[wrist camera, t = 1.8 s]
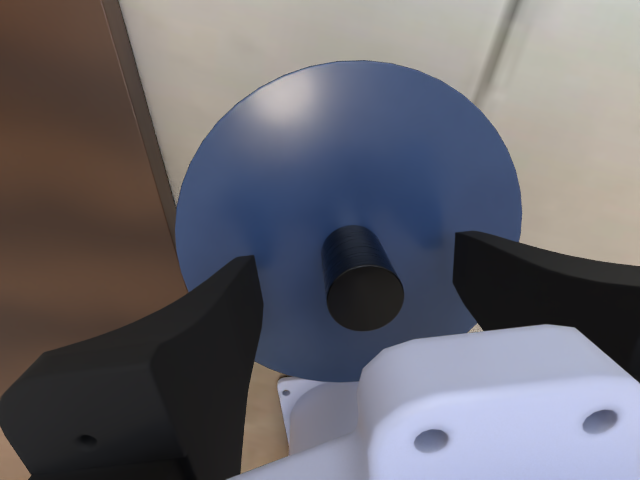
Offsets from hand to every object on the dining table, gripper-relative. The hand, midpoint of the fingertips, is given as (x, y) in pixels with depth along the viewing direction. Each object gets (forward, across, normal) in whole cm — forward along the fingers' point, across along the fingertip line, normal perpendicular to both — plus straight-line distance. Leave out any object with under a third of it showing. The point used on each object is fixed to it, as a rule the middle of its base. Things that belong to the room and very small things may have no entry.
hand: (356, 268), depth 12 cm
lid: (+2, 0, 0) cm, 2 cm away
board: (+7, +16, -1) cm, 17 cm away
